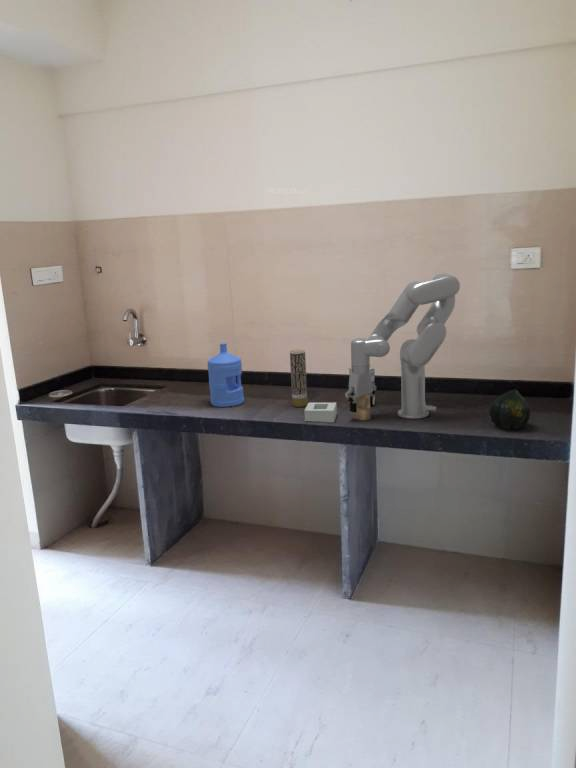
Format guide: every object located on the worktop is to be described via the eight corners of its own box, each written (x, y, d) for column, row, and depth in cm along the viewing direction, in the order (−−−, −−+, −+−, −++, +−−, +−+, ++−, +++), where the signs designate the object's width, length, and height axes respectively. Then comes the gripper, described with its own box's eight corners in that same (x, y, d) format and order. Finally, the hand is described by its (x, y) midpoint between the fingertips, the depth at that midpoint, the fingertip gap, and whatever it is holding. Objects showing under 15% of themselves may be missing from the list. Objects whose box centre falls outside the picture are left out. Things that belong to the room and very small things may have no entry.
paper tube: (289, 405, 288) (286, 351, 282) (300, 402, 292) (298, 349, 286) (299, 408, 283) (296, 353, 277) (310, 405, 287) (308, 350, 281)
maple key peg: (359, 415, 267) (359, 392, 265) (370, 418, 263) (369, 395, 261) (353, 417, 265) (352, 394, 263) (363, 420, 260) (363, 397, 258)
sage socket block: (336, 413, 272) (336, 402, 270) (333, 422, 260) (333, 410, 259) (309, 413, 274) (308, 402, 273) (304, 422, 262) (304, 410, 261)
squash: (485, 418, 237) (514, 389, 233) (480, 408, 252) (507, 380, 248) (514, 443, 237) (543, 413, 234) (507, 431, 252) (534, 404, 248)
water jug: (205, 407, 292) (200, 347, 285) (217, 398, 307) (212, 341, 300) (238, 408, 288) (233, 347, 281) (248, 398, 303) (244, 341, 296)
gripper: (368, 364, 267) (369, 403, 271) (339, 371, 256) (340, 412, 261) (381, 366, 261) (382, 406, 266) (352, 374, 251) (353, 415, 255)
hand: (361, 409), depth 263 cm, fingers open, 9 cm apart
